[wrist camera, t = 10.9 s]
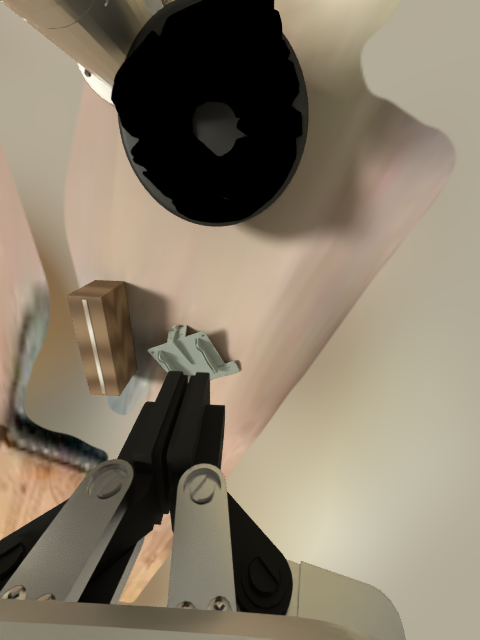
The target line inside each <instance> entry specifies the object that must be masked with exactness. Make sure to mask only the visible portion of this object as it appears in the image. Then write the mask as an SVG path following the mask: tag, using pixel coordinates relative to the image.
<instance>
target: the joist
mask: <svg viewBox="0 0 480 640" xmlns="http://www.w3.org/2000/svg"><path fill="white" fill-rule="evenodd" d="M67 300H68V304H69V308H70V312H71V316H72V320H73V324H74V328H75V333H76V337H77V341H78V345H79V349H80V353H81V357H82V362H83V366H84V369H85V374H86V378H87V382H88V386H89V390H90V394H91V395H106V396H120V394H121V393H122V391H123V390H124V388H125V387H126V385H127V384H128V382H129V381H130V379H131V378H132V376H133V375H134V373H135V372H136V370H137V365H136V358H135V352H134V345H133V338H132V331H131V324H130V317H129V310H128V303H127V296H126V289H125V282H123V281H102V280H95V281H93V282H91V283H89V284H87V285H85V286H84V287H82V288H80V289H78V290H76V291H74V292H72V293H71V294H69V295H67Z"/></svg>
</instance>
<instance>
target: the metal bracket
mask: <svg viewBox="0 0 480 640" xmlns="http://www.w3.org/2000/svg"><path fill="white" fill-rule="evenodd" d="M173 329H174V330H173V331H172V330H170V331H169V334H168V339H167V343H165V344H162V345H159V346H156V347H153V348H150V349H148V352H149V353H150V354H151V355H152V356H153V357H154V359H155V360H156V361H157V362H158V363H159V364H160V365H161V366H162V368H163V369H164V370H165V371H166V372H167V373H168V372H169V371H183V373H184V375H188V383H189V380H190V376H191V375H195V374H196V372H208V373H210V380H211V379H214V378H218V377H221V376H228V375H231V374H235V373H238V372H239V371H240V369H239V367H238V366H237V364H236V362H235V361H231V362H228V363H224V361H223V360H222V358H221V357H220V355H219V353H218V352H217V350H216V349H215V347H214V346H213V344H212V342H211V341H210V339H209V338H208V336H207V335H206V333H205V332H204V331H201V332H198V333H195V334H192V335H189V336H186V330H187V325H185V326H184V327H179V328H178V327H177V326H176V325H174V326H173ZM202 335H205V336H202ZM152 351H153V352H154V353H152ZM229 366H230V367H229Z"/></svg>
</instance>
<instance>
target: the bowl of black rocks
mask: <svg viewBox="0 0 480 640" xmlns="http://www.w3.org/2000/svg"><path fill="white" fill-rule="evenodd" d="M111 100H112V102H113V104H114V105H115V107H116V110H117V112H118V121H119V128H120V134H121V138H122V142H123V146H124V149H125V152H126V155H127V157H128V160H129V162H130V164H131V166H132V168H133V170H134V172H135V174H136V176H137V177H138V179H139V181H140V182H141V183H142V185H143V186H144V188H145V189H146V190H147V191H148V192H149V194H150V195H151V196H152V197H153V198H154V199H155V200H156V201H157V202H158V203H159V204H160V205H162V206H163V207H164V208H165V209H167V210H168V211H170V212H171V213H173V214H174V215H176V216H178V217H180V218H182V219H184V220H186V221H189V222H192V223H195V224H199V225H204V226H213V227H214V226H229V225H234V224H238V223H241V222H244V221H247V220H249V219H251V218H253V217H255V216H257V215H258V214H260V213H261V212H263V211H264V210H266V209H267V208H268V207H269V206H270V205H272V204H273V203H274V202H275V201H276V200H277V199H278V198H279V197H280V195H281V194H282V193H283V192H284V190H285V189H286V188H287V186H288V184H289V183H290V181H291V180H292V178H293V176H294V174H295V172H296V170H297V168H298V165H299V163H300V160H301V157H302V154H303V151H304V147H305V143H306V137H307V131H308V98H307V91H306V85H305V81H304V77H303V73H302V70H301V67H300V64H299V61H298V59H297V57H296V55H295V52H294V50H293V48H292V47H291V45H290V43H289V41H288V40H287V38H286V37H285V35H284V34H283V33H282V22H281V18H280V15H279V12H278V11H277V10H275V9H274V0H175V1H173V2H171V3H169V4H168V5H166V6H165V7H163V8H162V9H160V10H159V11H158V12H157V13H156V14H154V15H153V16H152V17H151V18H150V19H149V20H148V21H147V23H146V24H145V25H144V26H143V27H142V29H141V30H140V32H139V33H138V34H137V36H136V38H135V39H134V41H133V43H132V45H131V47H130V49H129V51H128V53H127V56H126V59H125V61H124V62H123V64H122V65H121V67H120V68H119V70H118V71H117V73H116V75H115V78H114V84H113V88H112V93H111Z"/></svg>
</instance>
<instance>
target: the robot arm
mask: <svg viewBox="0 0 480 640" xmlns="http://www.w3.org/2000/svg"><path fill="white" fill-rule="evenodd" d="M0 1H1V2H2V3H3V4H5V5H6V6H7V7H9V8H10V9H11V10H12V11H14V12H15V13H16V14H18V15H19V16H20V17H21V18H22V19H24V20H25V21H26V22H27V23H29V24H30V25H31V26H32V27H34V28H35V29H36V30H38V31H39V32H40V33H41V34H42V35H44V36H45V37H46V38H47V39H49V40H50V41H51V42H52V43H54V44H55V45H56V46H57V47H59V48H60V49H61V50H62V51H64V52H65V53H66V54H68V55H69V56H70V57H71V58H73V59H74V60H75V61H76V62H77V64H78V67H79V69H80V71H81V73H82V75H83V77H84V79H85V80H86V82H87V83H88V84H89V86H90V87H91V88H92V89H93V90H94V91H95V92H96V93H97V94H98V95H99V96H100V97H101V98H102V99H103V100H105V101H106V102H108V103H109V104H111V105H113V106H114V107H115V105H114V104H113V102H112V100H111V93H112V88H113V84H114V78H115V75H116V73H117V71H118V70H119V68H120V67H121V65H122V64H123V62H124V61H125V59H126V56H127V53H128V51H129V49H130V47H131V45H132V43H133V41H134V39H135V38H136V36H137V34H138V33H139V32H140V30H141V29H142V27H143V26H144V25H145V24H146V23H147V21H148V20H149V19H150V18H151V17H152V16H153V15H154V14H156V13H157V12H158V11H159V10H160V9H162V8H163V7H164V6H163V4H162V2H161V1H160V0H0ZM90 74H91V77H90ZM224 425H225V405H210V373H208V372H196V374H195V375H191V376H190V380H189V383H188V375H184V373H183V371H169V372H168V374H167V376H166V379H165V381H164V383H163V385H162V388H161V390H160V392H159V394H158V396H157V399H156V401H155V402H146V403H145V404H144V406H143V408H142V410H141V412H140V414H139V416H138V418H137V420H136V422H135V424H134V426H133V428H132V430H131V432H130V434H129V436H128V438H127V440H126V442H125V444H124V446H123V448H122V450H121V452H120V454H119V456H118V458H117V459H113V460H108V461H105V462H103V463H101V464H99V465H98V466H96V467H95V468H93V469H92V470H91V471H90V472H89V473H88V474H87V475H86V477H85V478H84V479H83V481H82V482H81V483H80V485H79V486H78V488H77V489H76V490H75V492H74V493H73V494H72V496H71V497H70V498H69V499H67V500H66V501H64V502H63V503H61V504H59V505H58V506H56V507H54V508H53V509H51V510H49V511H48V512H46V513H44V514H43V515H41V516H40V517H38V518H36V519H35V520H33V521H31V522H30V523H28V524H26V525H25V526H23V527H21V528H20V529H18V530H17V531H15V532H13V533H12V534H10V535H8V536H7V537H5V538H3V539H2V540H1V541H0V640H406V639H405V634H404V629H403V625H402V622H401V619H400V616H399V614H398V612H397V610H396V608H395V607H394V605H393V604H392V602H391V600H390V599H389V598H387V596H386V595H385V594H384V593H383V592H381V591H380V590H379V589H377V588H375V587H374V586H372V585H369V584H366V583H363V582H361V581H358V580H355V579H352V578H349V577H346V576H343V575H340V574H337V573H335V572H331V571H328V570H326V569H323V568H320V567H317V566H314V565H311V564H308V563H306V562H303V561H301V563H300V564H298V563H295V562H292V561H290V560H287V559H285V557H284V556H283V554H282V553H281V552H280V551H279V550H278V549H277V547H276V546H275V545H274V544H273V543H272V542H271V541H270V539H269V538H268V537H267V536H266V535H265V534H264V533H263V532H262V530H261V529H260V528H259V527H258V526H257V525H256V524H255V522H254V521H253V520H252V519H251V518H250V517H249V516H248V515H247V513H246V512H245V511H244V510H243V509H242V508H241V507H240V505H239V504H238V503H237V502H236V501H235V500H234V499H233V498H232V496H231V495H230V494H229V493H228V492H227V487H226V480H225V476H224V475H223V473H222V472H221V460H222V450H223V439H224ZM169 511H170V514H171V523H172V531H173V533H174V535H173V547H172V558H171V571H170V581H169V593H168V604H167V607H149V606H131V605H117V603H118V601H119V599H120V596H121V594H122V592H123V589H124V587H125V585H126V582H127V580H128V578H129V575H130V573H131V571H132V568H133V566H134V564H135V561H136V559H137V557H138V554H139V552H140V550H141V547H142V545H143V541H144V537H145V535H147V534H148V533H149V532H150V531H152V530H153V527H154V524H158V525H161V521H162V517H163V514H168V513H169Z"/></svg>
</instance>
